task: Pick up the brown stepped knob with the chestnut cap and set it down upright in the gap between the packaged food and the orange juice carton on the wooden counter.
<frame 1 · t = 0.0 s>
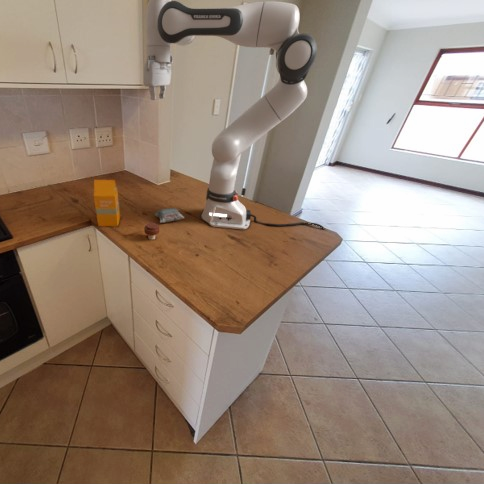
hand: (157, 99, 101), 48 cm above the worktop, tool pointing down, fingers open, 8 cm apart
packaged food: (169, 220, 117), on the worktop
brown stepped knob: (151, 237, 104), on the worktop
orange juice: (109, 222, 114), on the worktop
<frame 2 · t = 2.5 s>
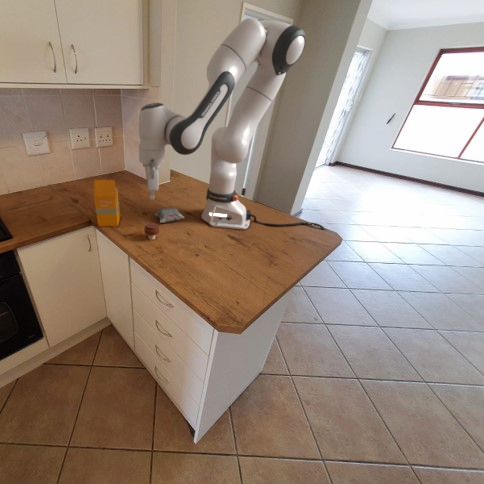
hand: (151, 193, 95), 19 cm above the worktop, tool pointing down, fingers open, 8 cm apart
nothing on the worktop moved.
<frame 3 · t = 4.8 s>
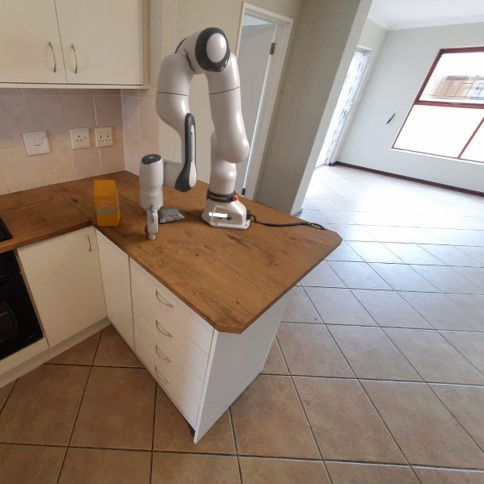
hand: (151, 231, 102), 3 cm above the worktop, tool pointing down, fingers closed on brown stepped knob, 6 cm apart
brown stepped knob: (151, 237, 104), on the worktop, touching gripper
everything else where it was.
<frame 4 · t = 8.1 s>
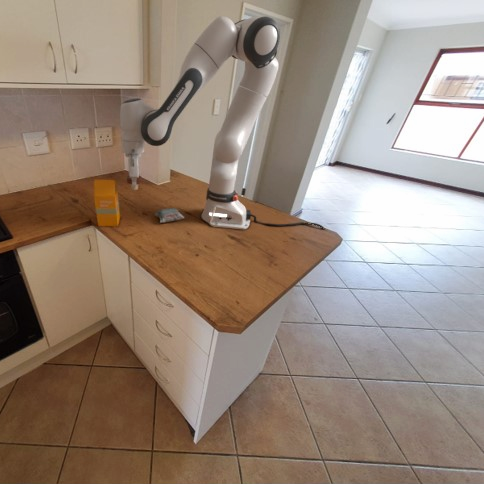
hand: (134, 181, 104), 19 cm above the worktop, tool pointing down, fingers closed on brown stepped knob, 6 cm apart
brown stepped knob: (134, 188, 106), point 16 cm above the worktop, touching gripper
everything else where it was.
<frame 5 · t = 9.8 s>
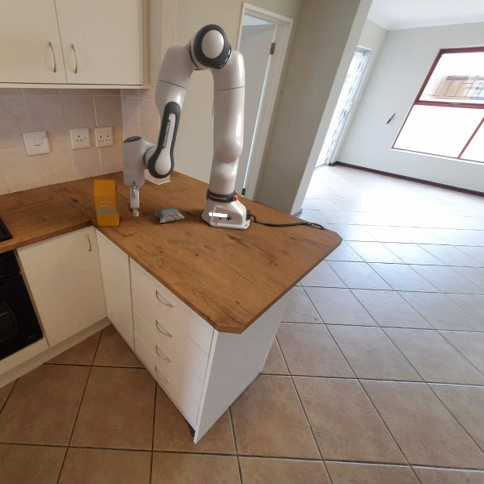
hand: (135, 208, 112), 6 cm above the worktop, tool pointing down, fingers closed on brown stepped knob, 6 cm apart
brown stepped knob: (135, 214, 113), point 3 cm above the worktop, touching gripper
everything else where it was.
when the fingers open (3 cm above the worktop, at t = 11.4 s): brown stepped knob stays where it is, on the worktop.
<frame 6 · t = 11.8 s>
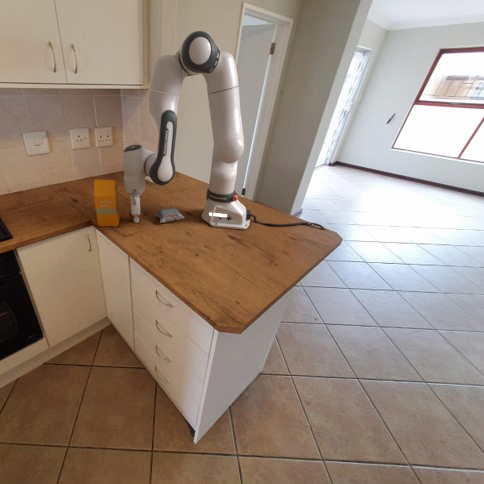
hand: (136, 214, 113), 3 cm above the worktop, tool pointing down, fingers open, 8 cm apart
brown stepped knob: (135, 221, 115), on the worktop
everything else where it was.
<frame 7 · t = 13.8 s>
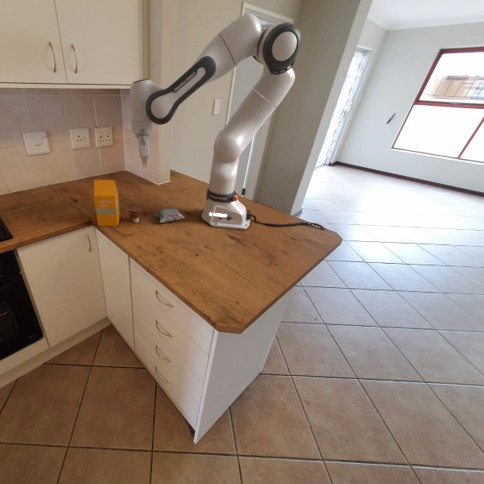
hand: (144, 163, 106), 25 cm above the worktop, tool pointing down, fingers open, 8 cm apart
nothing on the worktop moved.
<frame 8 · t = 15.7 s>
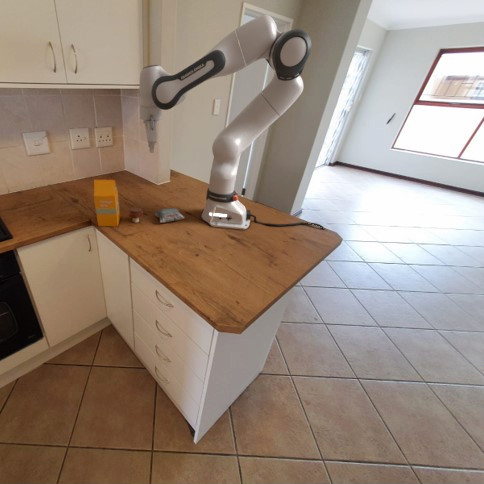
hand: (151, 149, 109), 29 cm above the worktop, tool pointing down, fingers open, 8 cm apart
nothing on the worktop moved.
at the end: brown stepped knob 0.2 cm from the target spot, on the worktop; brown stepped knob tilted 0°; orange juice moved 0.2 cm from its start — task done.
